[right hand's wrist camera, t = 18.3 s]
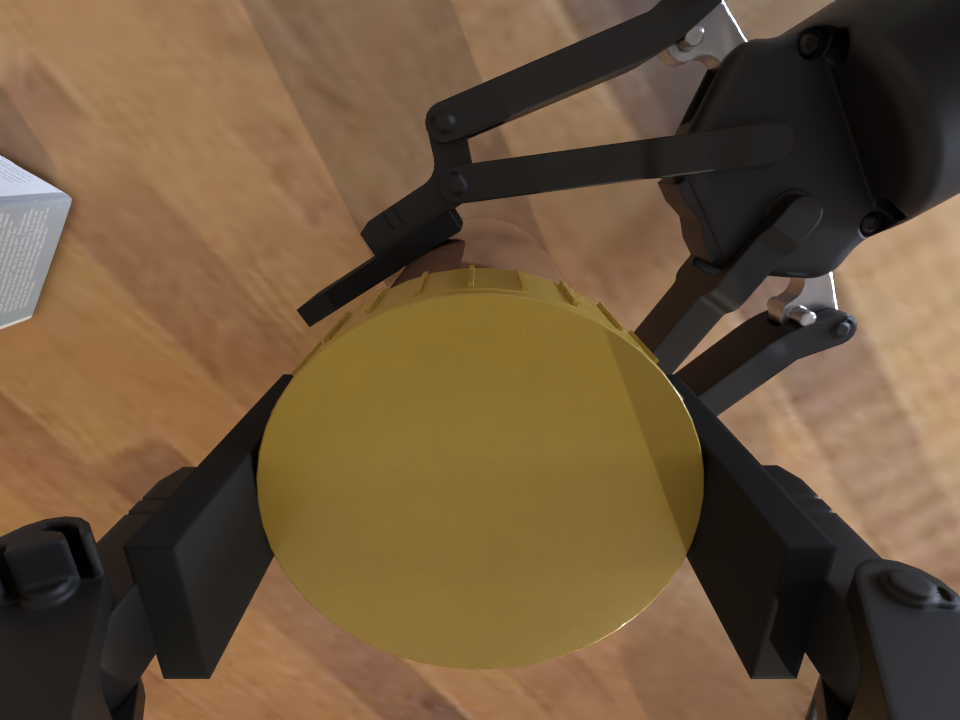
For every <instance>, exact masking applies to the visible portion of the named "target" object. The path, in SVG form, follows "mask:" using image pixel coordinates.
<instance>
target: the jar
mask: <svg viewBox="0 0 960 720" xmlns="http://www.w3.org/2000/svg"><path fill="white" fill-rule="evenodd" d="M462 221H463V226H462V229H461V231H460V232H458V233H457V234H455V235H454V236H452V237H450V238H449V239H447V240H446V241H444V242H443V243H441V244H439V245H438V246H436V247H435V248H433V249H432V250H430V251H428V252H427V253H425V254H424V255H422V256H421V257H419V258H417V259H416V260H414V261H413V262H411V263H410V264H408V265H406V266H405V267H403V268H402V269H401V270H400V271H399V272H398V274H397V275H396V276H395V278H394V279H393V280H392V282H391V283H390V284H389V286H388V287H387V288H386V289H387V290H388V289H390V288H393V287H395V286H397V285H399V284H402V283H404V282H406V281H408V280H412V279H415V278H418V277H421V276H422V274H423V272H427V271H428V273H429V274H432V273H436V272H443V271H449V270H456V269H464V268H469V265H474V267H475V268H495V269H503V270H512V271H516V268H520V269H521V270H522V272H523V273H527V274H531V275H535V276H539V277H543V278H546V279H549V280H551V281H554V282H556V283H560V281H563V282H565V283H566V284H567V286H568V287H569V288H571V289H572V290H574V291H576V290H575V289H574V288H573V286H572V285H571V284H570V282H569V281H568V280H567V278H566V277H565V276H564V274H563V273H562V272H561V270H560V269H559V268H558V266H557V265H556V264H555V262H554V261H553V260H552V259H551V257H550V256H549V255H548V253H547V252H546V251H545V249H544V248H543V247H542V246H541V245H540V243H539V242H538V241H537V240H536V239H535V238H533V237H532V236H531V235H530V234H529V233H527V232H526V231H524V230H523V229H521V228H519V227H517V226H515V225H513V224H511V223H508V222H505V221H502V220H498V219H492V218H468V219H462Z"/></svg>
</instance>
